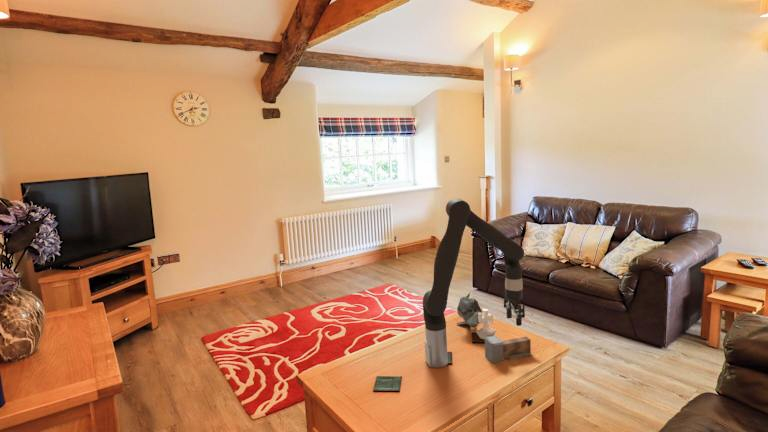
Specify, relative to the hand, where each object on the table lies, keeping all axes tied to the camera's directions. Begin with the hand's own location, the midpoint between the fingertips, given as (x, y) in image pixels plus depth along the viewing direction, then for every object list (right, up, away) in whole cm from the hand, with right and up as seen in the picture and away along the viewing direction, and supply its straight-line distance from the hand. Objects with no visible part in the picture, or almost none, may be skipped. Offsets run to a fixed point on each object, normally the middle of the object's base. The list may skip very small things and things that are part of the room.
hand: (513, 321), depth 192 cm
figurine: (-8, -14, +21) cm, 26 cm away
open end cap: (+2, -16, +3) cm, 16 cm away
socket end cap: (-9, -17, 0) cm, 19 cm away
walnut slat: (+1, -16, +3) cm, 16 cm away
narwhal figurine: (-13, -12, +32) cm, 37 cm away
